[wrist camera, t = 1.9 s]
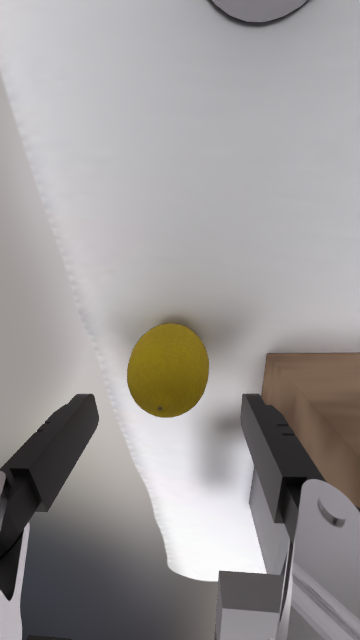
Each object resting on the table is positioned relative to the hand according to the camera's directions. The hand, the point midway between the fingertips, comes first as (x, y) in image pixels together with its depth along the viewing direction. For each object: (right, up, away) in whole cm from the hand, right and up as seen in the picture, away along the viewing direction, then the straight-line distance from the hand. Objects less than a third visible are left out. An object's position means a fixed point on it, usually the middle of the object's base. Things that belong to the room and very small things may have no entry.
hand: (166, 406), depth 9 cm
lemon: (0, +3, +7) cm, 8 cm away
